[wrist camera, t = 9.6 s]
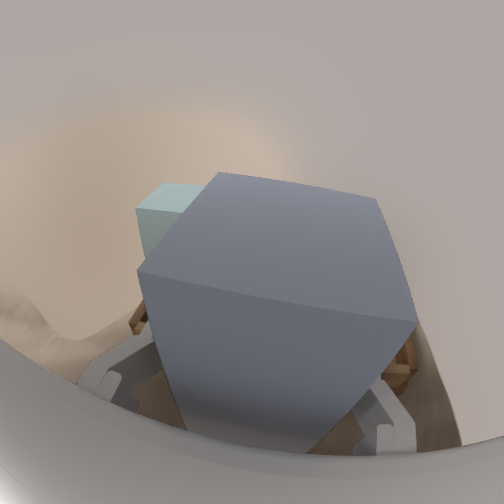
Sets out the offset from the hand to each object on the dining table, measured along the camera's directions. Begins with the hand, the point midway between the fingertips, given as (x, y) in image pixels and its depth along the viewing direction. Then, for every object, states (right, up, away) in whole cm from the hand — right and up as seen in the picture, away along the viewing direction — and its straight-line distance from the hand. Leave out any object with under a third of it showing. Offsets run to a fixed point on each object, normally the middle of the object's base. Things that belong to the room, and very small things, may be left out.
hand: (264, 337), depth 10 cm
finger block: (-1, -7, +4) cm, 9 cm away
